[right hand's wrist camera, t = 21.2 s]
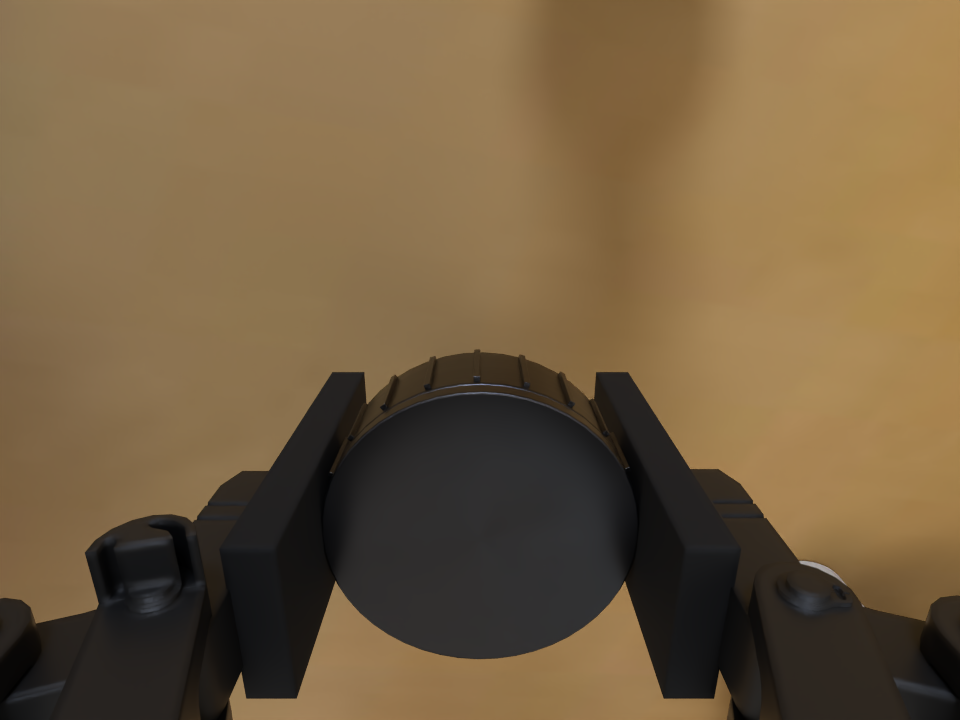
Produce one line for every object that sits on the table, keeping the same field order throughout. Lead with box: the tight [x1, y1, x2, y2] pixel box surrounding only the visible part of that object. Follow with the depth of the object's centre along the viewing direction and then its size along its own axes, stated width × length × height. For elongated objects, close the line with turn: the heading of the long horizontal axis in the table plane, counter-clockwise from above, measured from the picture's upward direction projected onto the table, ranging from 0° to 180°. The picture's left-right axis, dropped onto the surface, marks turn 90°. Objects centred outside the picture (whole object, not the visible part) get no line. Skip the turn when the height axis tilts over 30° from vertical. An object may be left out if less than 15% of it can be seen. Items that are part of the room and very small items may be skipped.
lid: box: [321, 350, 639, 659], centre depth 11 cm, size 6×6×2 cm
